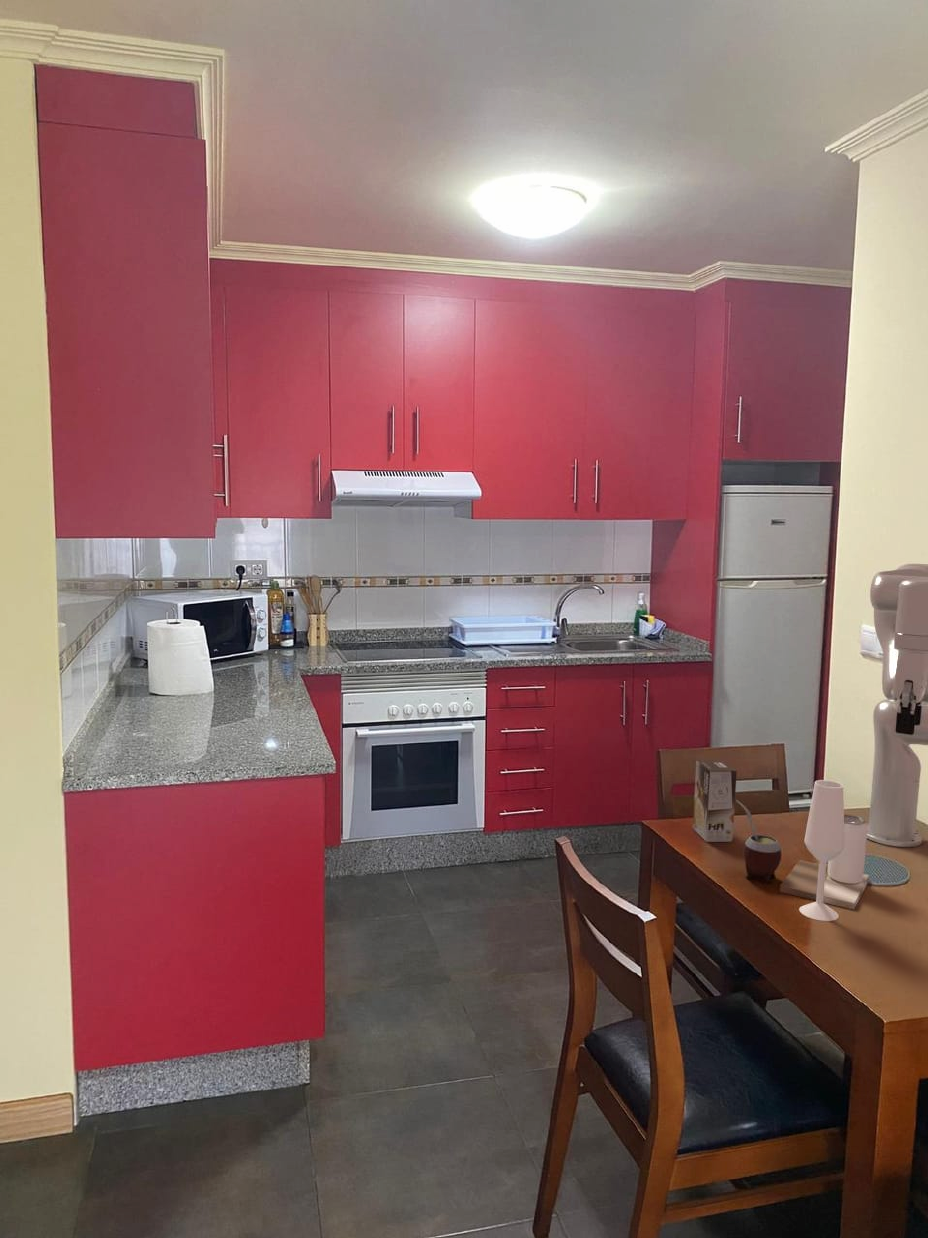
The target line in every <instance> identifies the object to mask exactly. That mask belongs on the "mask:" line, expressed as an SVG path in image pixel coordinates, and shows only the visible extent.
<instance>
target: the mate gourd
mask: <svg viewBox="0 0 928 1238" xmlns="http://www.w3.org/2000/svg"><path fill="white" fill-rule="evenodd" d="M735 802H736V803H737V804H739V805H740V806H741V808H743V809H744V811H745V812H746V813H745V814H746V817H747V818H748V821H749V824H750V828H751V831H752V834H753V835H751V836H749V837H748V838H747V839H746V841H745V843H744V847H743V858H744V862H745V870H746V876H745V879H746V880H748V881H750V880H760V881H762V882H763V883H764V884H766V885H767V886H768V885H771V883H772V882H771V881H770V879H776V875H775V871H776V870H777V869H778V868H779V866H780V863H781V862H782V861H781V860H782V850H781V849H782V848H781V845H780V843H779V841H778V840H777V839H776V838H774V837H772V836H770V835H765V834H757V832H756V829H755V825H754V822H753V818H752V814H751V811H750V810H749V809H748V808H747V807H746V806H745V805H744V804H743V803H741V802H740V801H739V800H738V799H735Z"/></svg>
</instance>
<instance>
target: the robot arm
mask: <svg viewBox="0 0 928 1238" xmlns="http://www.w3.org/2000/svg"><path fill="white" fill-rule="evenodd" d="M869 593H870V594H869V596H870V597H869V598H870V603H871V607H872V608H873V624H874V630H875V633H876V636H877V640H878V642H879V645H880V647H881V650H882V670H881V671H882V675H881V682H882V683H881V685H882V693H883V695H884V697H885V698H886V699H882V700H881V701H879V702H878V703H877V704H876V705H875V706H874V710H873V714H872V715H873V717H872V719H873V722H872V723H873V733H874V734H873V735H874V752H873V755H874V756H873V757H874V758H873V769H872V771H873V772H872V779H871V780H872V782H871V791H870V792H871V793H870V804H869V805H870V806H869V815H868V823H865V825H866V827H867V839H868V840H870V841H873V842H875V843H878V844H881V845H887V846H892V847H899V848H900V847H901V848H903V847H904V848H908V847H909V848H910V847H911V848H912V847H917V846H919V845H921V844H922V843H923V836H922V835H921V834H920V833H919V832H917V830H916V825H917V812H918V803H919V802H918V801H919V792H920V791H919V790H920V780H921V773H922V772H921V769H922V766H921V762H920V759H919V757H918V754H916V752H915V751H914V750H913V749H912V748H911V746H910V745H921V746H928V564H926V563H908V564H907V563H906V564H903V565H900V566H898V567H897V568H896V569H893V570H885V571H878V572H877V573H876V574H875V575H874V576H873V578H872V580H871V582H870V591H869Z"/></svg>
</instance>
